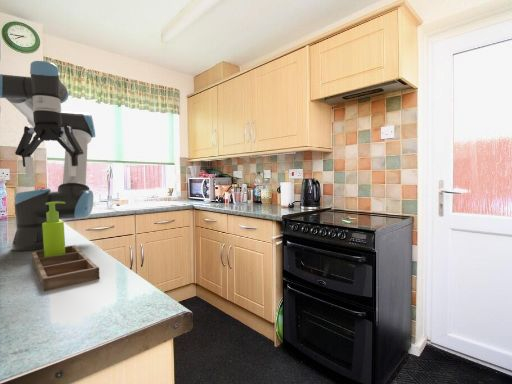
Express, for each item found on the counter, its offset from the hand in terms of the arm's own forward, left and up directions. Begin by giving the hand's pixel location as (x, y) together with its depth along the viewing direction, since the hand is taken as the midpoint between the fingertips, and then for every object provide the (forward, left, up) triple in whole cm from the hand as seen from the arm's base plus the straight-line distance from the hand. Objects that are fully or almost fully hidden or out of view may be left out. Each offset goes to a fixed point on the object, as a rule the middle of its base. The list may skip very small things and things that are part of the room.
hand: (51, 176), depth 96 cm
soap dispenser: (0, 0, -29) cm, 29 cm away
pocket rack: (+9, +7, -28) cm, 31 cm away
